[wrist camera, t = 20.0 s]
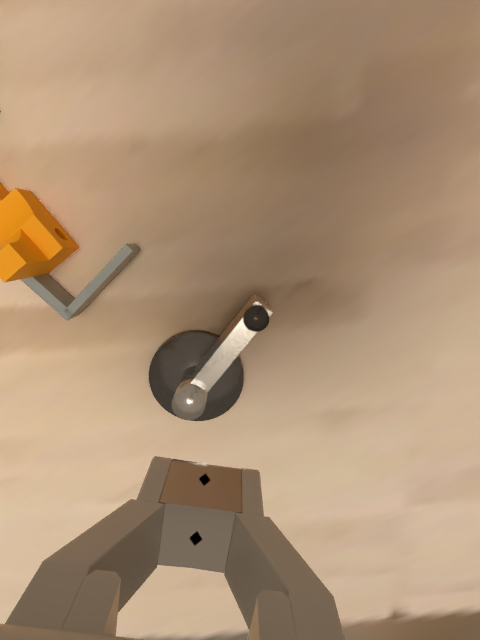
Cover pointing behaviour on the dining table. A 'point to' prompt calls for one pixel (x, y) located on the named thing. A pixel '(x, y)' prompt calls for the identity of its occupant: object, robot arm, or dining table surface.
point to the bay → (72, 306)
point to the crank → (219, 359)
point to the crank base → (189, 353)
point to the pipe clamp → (29, 237)
